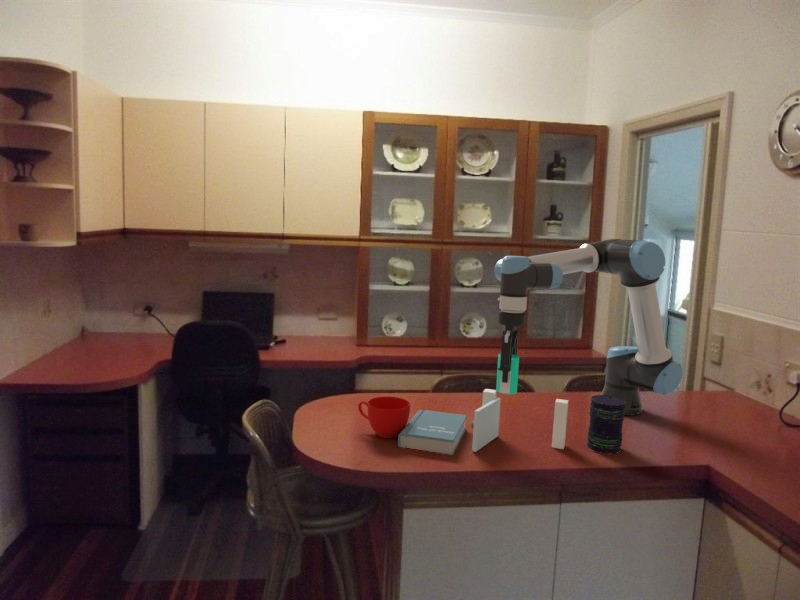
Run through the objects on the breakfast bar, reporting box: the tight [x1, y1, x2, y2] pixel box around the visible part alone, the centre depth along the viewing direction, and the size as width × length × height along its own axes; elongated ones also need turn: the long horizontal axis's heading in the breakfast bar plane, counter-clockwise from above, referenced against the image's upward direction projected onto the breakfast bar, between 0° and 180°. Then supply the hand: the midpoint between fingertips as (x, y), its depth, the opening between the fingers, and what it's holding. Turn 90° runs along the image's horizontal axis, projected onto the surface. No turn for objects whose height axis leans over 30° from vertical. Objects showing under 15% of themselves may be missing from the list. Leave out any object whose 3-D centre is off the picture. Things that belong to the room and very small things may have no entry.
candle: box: [495, 353, 520, 395], centre depth 172 cm, size 6×6×12 cm
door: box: [470, 397, 501, 453], centre depth 178 cm, size 16×3×12 cm, turn 148°
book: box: [397, 409, 467, 456], centre depth 182 cm, size 23×16×5 cm
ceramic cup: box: [357, 396, 411, 439], centre depth 184 cm, size 13×17×10 cm
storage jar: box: [586, 394, 626, 454], centre depth 179 cm, size 10×10×15 cm
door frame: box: [481, 388, 570, 450], centre depth 182 cm, size 25×4×14 cm, turn 69°
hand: (506, 389), depth 173 cm, fingers closed on candle, 6 cm apart
